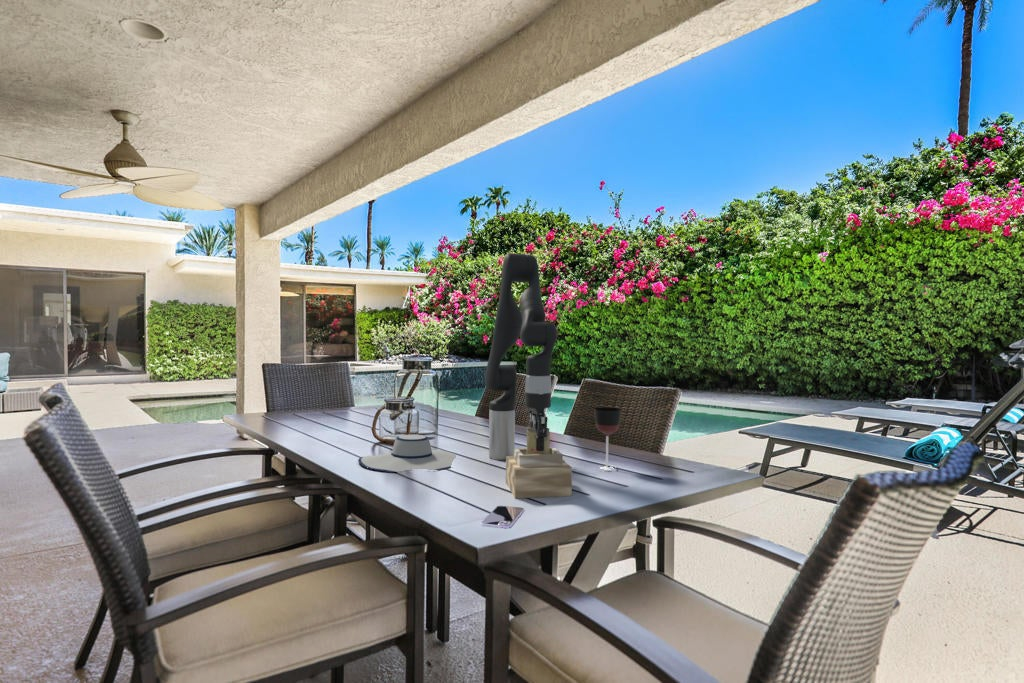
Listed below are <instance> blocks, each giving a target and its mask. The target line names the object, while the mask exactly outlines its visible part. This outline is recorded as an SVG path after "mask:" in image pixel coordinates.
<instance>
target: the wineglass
mask: <svg viewBox="0 0 1024 683" xmlns="http://www.w3.org/2000/svg"><path fill="white" fill-rule="evenodd" d="M593 412H594V422H595V427H596V428H597V430H598V431H599V432H600V433H602V435H605V465H604V467H600V466H599V467H600V469H604V470H611V469H614V468H613V467H614V466H610V467H608V466H609V436H611V435H612V434H615V432H617V431H618V429H619V427H620V424H621V416H622V409H621V408H619V407H618V408H617V407H609V406H607V407H605V406H604V407H595V408H594V411H593Z"/></svg>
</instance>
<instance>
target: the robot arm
mask: <svg viewBox="0 0 1024 683" xmlns="http://www.w3.org/2000/svg"><path fill="white" fill-rule="evenodd" d="M502 262H503V263H502V267H501V271H502V272H501V280H500V290H499V291H500V292H499V299H498V305H497V310H496V315H495V320H494V328H493V333H492V334H493V335H492V342H491V348H490V353H489V357H488V361H487V365H486V370H485V373H484V374H485V375H484V385H485V389H486V390H488V391H490V392H497V391H498V392H503V393H502V394H501V396H499V397H497V398H495V399H493V400H491V401H490V402H489V404H488V405H489V406H488V408H489V409H488V410H489V411H488V412H489V413H488V415H489V422H488V424H489V426H488V427H489V430H488V436H489V437H488V439H489V440H488V458H490V459H494V460H500V461H501V460H503V461H506V457H507V456H514V449H516V448H515V447H516V443H515V442H516V440H515V439H516V431H515V430H516V426H515V425H516V420H515V419H516V400H517V383H518V382H517V381H518V380H517V378H518V375H517V370H516V367H515V366H514V365H512V364H501V363H502V362H503V361H502V360H503V359H504V357H505V355H506V354H507V353H508V352H509V350H510V349H512V347H514V345H515V344H516V343H517V342H518V340H519V339H520V341H521V342H522V344H524V345H525V346H526V347H542V349H541V351H540V352H538V353H534V354H531V355H528V356H527V358H526V361H525V364H526V365H525V368H526V369H525V370H526V371H525V373H526V374H525V383H524V385H525V386H524V387H525V388H524V389H525V390H524V393H525V394H524V404H525V405H524V406H525V407H526V408H527V409H528V408H529V409H530V410H529V411H528V414H529V415H528V416H529V421H532V422H533V427H534V430H535V431H536V450H537V451H544V438H545V437H546V436H547V428H548V420H549V419H548V416H547V414H546V413H545V409H549V408H551V406H552V378H551V377H552V376H551V369H552V368H551V366H552V365H551V364H552V355H553V352H554V348H555V345H556V341H557V338H558V330H557V326H556V325H555V324H554V323H553V322H550V321H545V320H546V318H547V317H546V311H545V307H544V303H543V300H542V296H541V294H542V293H541V283H540V282H541V280H540V271H539V264H538V260H537V258H536V256H534V255H532V254H525V253H514V252H513V253H512V252H510V253H507V254H505V256H504V259H503V261H502ZM514 282H515V283H524V284H525V283H527V284H528V286H527V287H526V288H525V290H524V291H523V292H522V293H521V296H520V298H519V305H518V303H517V301H516V299H515V297H514V294H513V290H512V284H513V283H514ZM540 430H542V433H540Z"/></svg>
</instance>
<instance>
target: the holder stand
mask: <svg viewBox="0 0 1024 683" xmlns="http://www.w3.org/2000/svg"><path fill="white" fill-rule="evenodd" d="M526 453H527V447H526V448H515V449H514V456H507V457H506V459H505V484H506V483H507V484H506V485H507V487H508V489H509V488H510V489H509V490H510V492H511V494H512V495H513V498H514V499H526V498H527V499H531V498H552V497H553V498H554V497H572V492H573V490H572V489H573V488H572V487H573V486H572V485H573V484H572V482H573V481H572V479H573V475H572V474H573V470H572V469H573V468H572V466H571V465H569V463H567V462H566V461H565V460H564V459H563V458H564V457H563V456H564V455H563V453H562V452H561V451H559V450H558V449H557V448H556V447H550V448H549V454H530V455H527V454H526Z"/></svg>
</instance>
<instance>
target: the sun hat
mask: <svg viewBox="0 0 1024 683" xmlns="http://www.w3.org/2000/svg"><path fill="white" fill-rule="evenodd" d="M390 452H391V453H389V452H386V453H387V454H386V453H382V454H383V455H382V454H377V455H368V456H367V457H366V456H361V457H359V458H358V459H357V461H358V463H359V465H361V466H362V467H363V466H364V468H365V467H368V468H371V469H370V470H372V469H374V471H378V472H379V471H381V472H387V473H392V472H396V471H404V470H410V469H428V470H438V471H441V469H443V470H447V469H449V468H448V467H451V465H452V462H453V460H454V459H455V458H456V455H455V454H456V453H455V452H452V451H448V450H443V449H432V446H431V442H430V439H429V437H428V436H426V435H423V434H402V435H398V436H397V437H396V438H395V440H394V442H393V447H392V451H390ZM454 453H455V454H454ZM368 468H367V469H368ZM446 468H447V469H446Z"/></svg>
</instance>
